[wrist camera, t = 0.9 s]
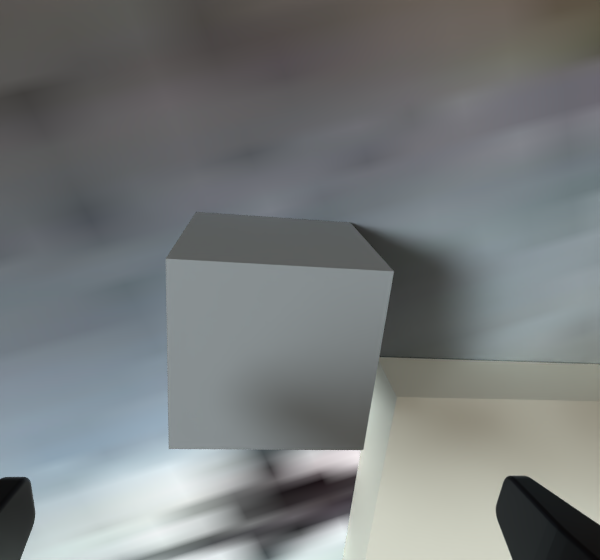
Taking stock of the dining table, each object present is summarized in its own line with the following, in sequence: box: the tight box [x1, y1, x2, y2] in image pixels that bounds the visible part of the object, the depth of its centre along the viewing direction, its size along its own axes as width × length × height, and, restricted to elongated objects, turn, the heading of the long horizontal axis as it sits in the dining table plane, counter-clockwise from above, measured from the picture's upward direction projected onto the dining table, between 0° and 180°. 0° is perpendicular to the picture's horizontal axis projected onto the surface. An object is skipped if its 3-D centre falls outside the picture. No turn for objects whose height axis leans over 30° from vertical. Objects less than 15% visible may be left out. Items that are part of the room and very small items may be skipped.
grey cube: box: [166, 212, 394, 450], centre depth 15 cm, size 6×6×6 cm
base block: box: [342, 357, 600, 560], centre depth 22 cm, size 16×14×3 cm
